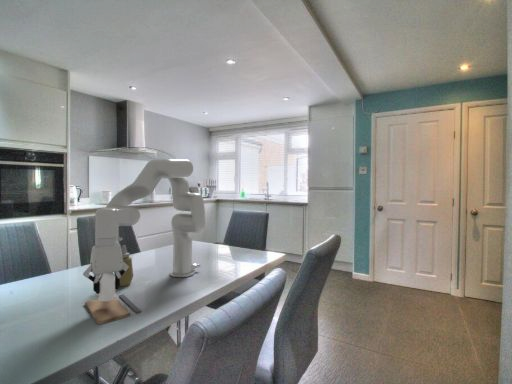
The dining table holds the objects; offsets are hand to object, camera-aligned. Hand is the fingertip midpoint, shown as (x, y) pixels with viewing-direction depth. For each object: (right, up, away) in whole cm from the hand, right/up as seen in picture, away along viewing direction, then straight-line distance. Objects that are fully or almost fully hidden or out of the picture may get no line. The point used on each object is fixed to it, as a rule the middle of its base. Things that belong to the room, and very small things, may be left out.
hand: (106, 290), depth 103 cm
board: (0, -7, 0) cm, 7 cm away
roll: (0, -3, 0) cm, 3 cm away
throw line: (+6, -7, +6) cm, 11 cm away
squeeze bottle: (-6, -7, +26) cm, 27 cm away
